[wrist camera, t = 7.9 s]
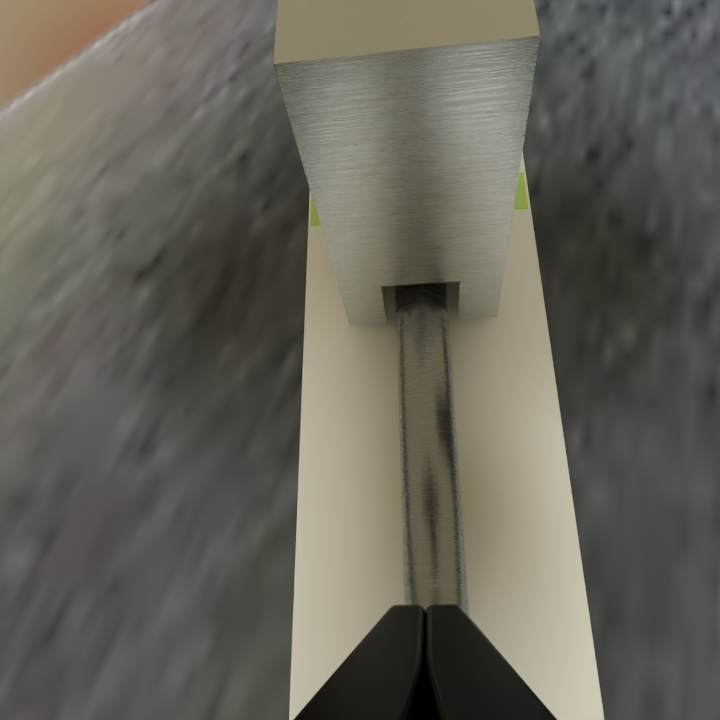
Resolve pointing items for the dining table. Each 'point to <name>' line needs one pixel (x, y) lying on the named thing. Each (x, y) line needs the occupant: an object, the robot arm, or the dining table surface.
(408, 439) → the steel pipe
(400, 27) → the beige tall block
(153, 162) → the dining table surface
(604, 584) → the dining table surface
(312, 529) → the base board
